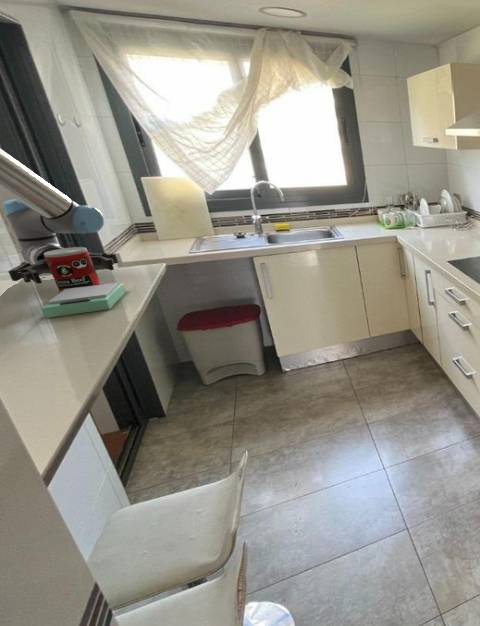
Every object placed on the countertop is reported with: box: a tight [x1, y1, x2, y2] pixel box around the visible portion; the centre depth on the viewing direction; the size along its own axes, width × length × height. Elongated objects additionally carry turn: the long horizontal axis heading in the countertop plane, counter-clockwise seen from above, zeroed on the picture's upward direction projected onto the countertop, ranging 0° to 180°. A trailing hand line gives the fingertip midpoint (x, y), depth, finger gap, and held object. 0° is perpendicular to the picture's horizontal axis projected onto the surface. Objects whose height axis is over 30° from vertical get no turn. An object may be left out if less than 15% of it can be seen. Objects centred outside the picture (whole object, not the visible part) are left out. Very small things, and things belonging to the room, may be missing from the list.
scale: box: [41, 282, 126, 319], centre depth 110 cm, size 11×14×3 cm
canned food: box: [44, 246, 102, 293], centre depth 117 cm, size 8×8×11 cm
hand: (75, 271), depth 116 cm, fingers open, 13 cm apart
